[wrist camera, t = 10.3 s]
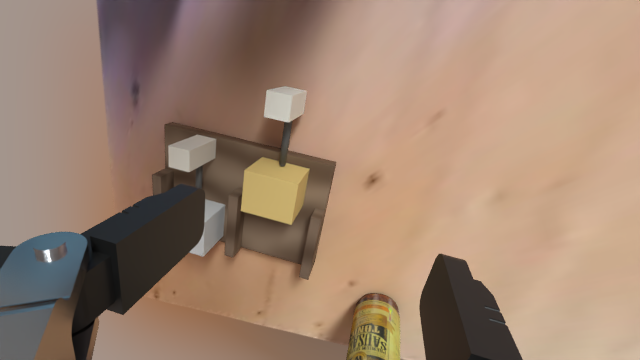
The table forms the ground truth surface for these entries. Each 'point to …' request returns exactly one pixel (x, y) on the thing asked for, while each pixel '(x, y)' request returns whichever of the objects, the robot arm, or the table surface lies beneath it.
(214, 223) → the white block with handle
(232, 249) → the lane rack
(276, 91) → the ochre block
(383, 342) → the sauce bottle
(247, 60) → the table surface
